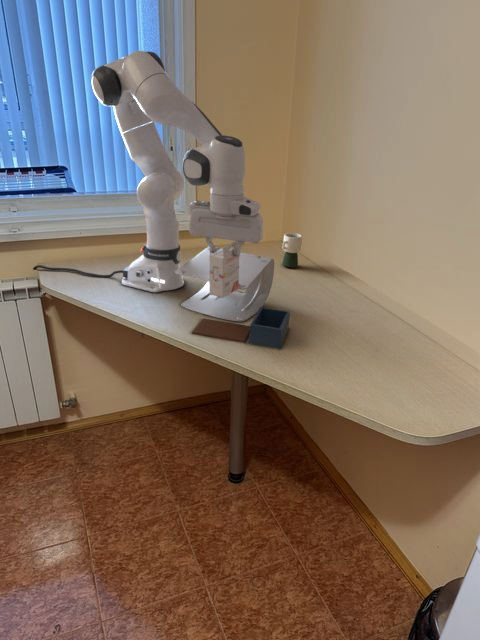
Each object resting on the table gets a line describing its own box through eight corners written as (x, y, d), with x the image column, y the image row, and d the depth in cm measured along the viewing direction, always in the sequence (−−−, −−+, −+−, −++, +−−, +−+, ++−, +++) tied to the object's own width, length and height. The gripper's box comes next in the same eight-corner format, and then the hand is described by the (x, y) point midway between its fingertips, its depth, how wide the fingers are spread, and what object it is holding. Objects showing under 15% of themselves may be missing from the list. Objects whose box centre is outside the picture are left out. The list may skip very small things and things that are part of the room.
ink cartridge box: (224, 285, 144) (225, 236, 137) (238, 289, 142) (241, 239, 135) (208, 294, 138) (208, 243, 130) (222, 298, 135) (224, 247, 128)
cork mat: (191, 333, 144) (191, 332, 143) (202, 319, 152) (202, 318, 152) (244, 342, 140) (244, 340, 140) (252, 327, 148) (252, 326, 148)
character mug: (292, 261, 204) (295, 230, 197) (305, 266, 199) (309, 235, 193) (274, 266, 197) (277, 235, 191) (287, 271, 193) (290, 239, 186)
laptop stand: (274, 300, 167) (278, 256, 160) (242, 325, 149) (245, 278, 142) (210, 284, 178) (211, 243, 170) (174, 306, 160) (173, 261, 152)
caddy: (248, 343, 140) (250, 324, 137) (259, 324, 151) (260, 306, 148) (279, 348, 138) (281, 330, 135) (288, 329, 149) (290, 311, 146)
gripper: (185, 202, 127) (185, 253, 134) (261, 210, 123) (257, 262, 129) (193, 197, 133) (193, 246, 139) (266, 205, 128) (262, 255, 135)
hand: (225, 254), depth 134 cm, fingers closed on ink cartridge box, 5 cm apart
